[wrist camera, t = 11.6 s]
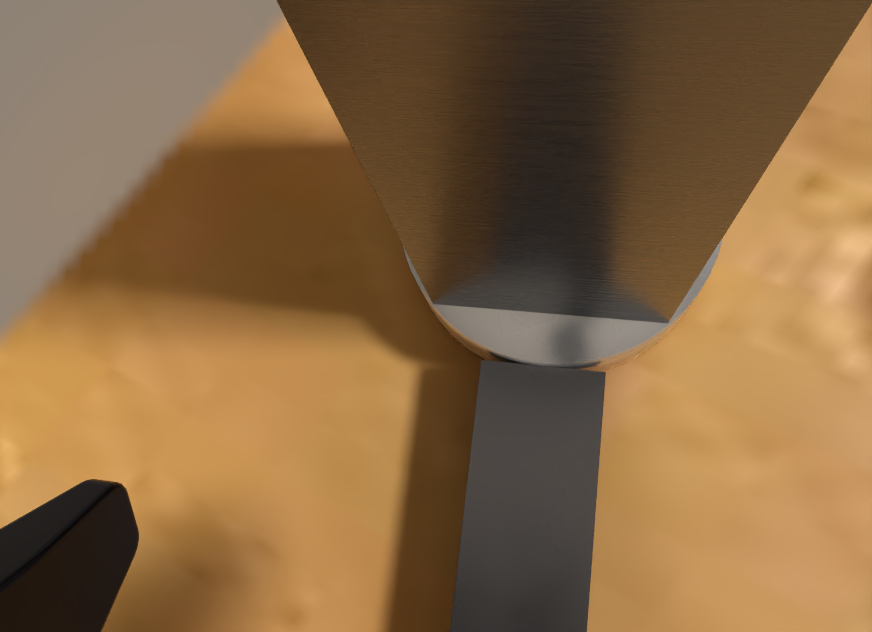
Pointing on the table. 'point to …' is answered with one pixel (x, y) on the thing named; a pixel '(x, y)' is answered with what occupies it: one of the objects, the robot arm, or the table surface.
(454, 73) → the socket
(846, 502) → the table surface
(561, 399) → the ratchet
